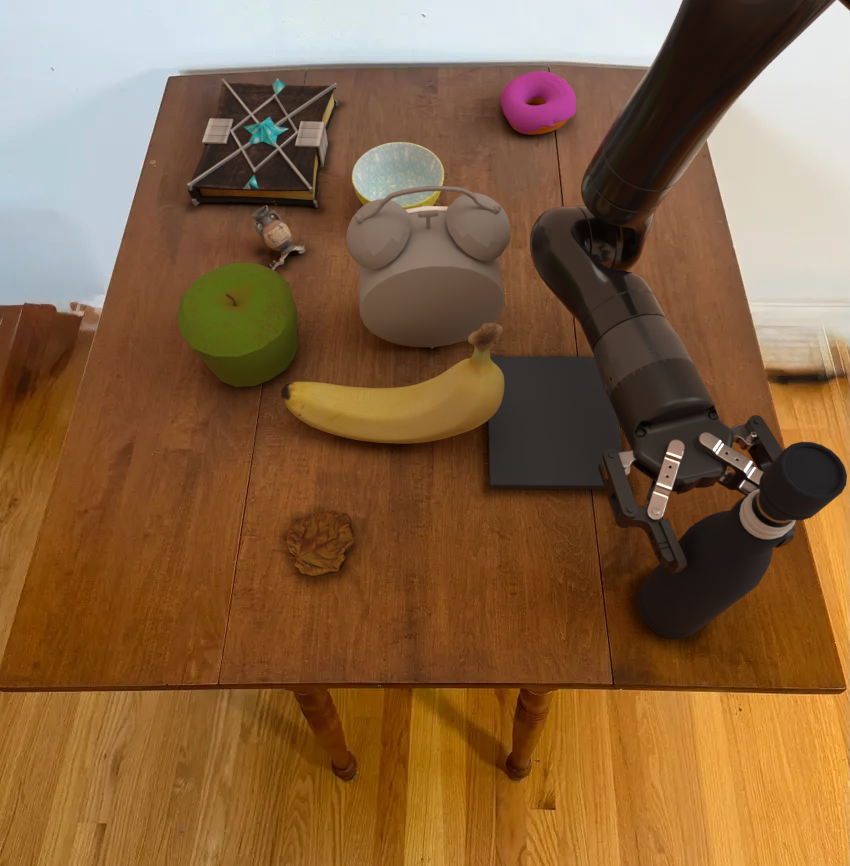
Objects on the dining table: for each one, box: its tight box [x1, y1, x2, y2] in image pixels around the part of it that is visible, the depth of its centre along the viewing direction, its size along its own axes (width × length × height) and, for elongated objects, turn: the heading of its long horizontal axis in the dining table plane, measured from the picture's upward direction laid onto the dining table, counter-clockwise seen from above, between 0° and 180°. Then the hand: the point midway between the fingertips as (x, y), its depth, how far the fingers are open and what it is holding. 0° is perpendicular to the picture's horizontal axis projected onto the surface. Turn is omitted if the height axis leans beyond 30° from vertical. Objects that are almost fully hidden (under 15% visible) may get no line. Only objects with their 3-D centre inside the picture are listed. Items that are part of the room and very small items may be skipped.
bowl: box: [351, 141, 445, 210], centre depth 91 cm, size 11×12×6 cm
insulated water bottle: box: [636, 441, 848, 640], centre depth 55 cm, size 6×6×30 cm
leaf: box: [285, 509, 355, 577], centre depth 71 cm, size 6×7×2 cm
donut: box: [500, 70, 577, 136], centre depth 100 cm, size 10×10×5 cm
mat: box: [487, 356, 624, 490], centre depth 78 cm, size 14×16×1 cm
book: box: [186, 77, 339, 209], centre depth 98 cm, size 22×17×5 cm
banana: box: [280, 322, 504, 445], centre depth 69 cm, size 23×6×20 cm, turn 84°
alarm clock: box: [345, 185, 512, 349], centre depth 75 cm, size 16×9×22 cm, turn 94°
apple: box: [177, 261, 299, 388], centre depth 78 cm, size 12×12×11 cm
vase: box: [251, 205, 307, 270], centre depth 88 cm, size 5×5×6 cm
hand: (733, 556), depth 54 cm, fingers open, 8 cm apart
